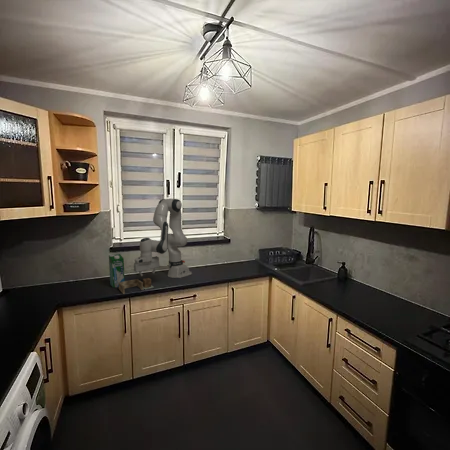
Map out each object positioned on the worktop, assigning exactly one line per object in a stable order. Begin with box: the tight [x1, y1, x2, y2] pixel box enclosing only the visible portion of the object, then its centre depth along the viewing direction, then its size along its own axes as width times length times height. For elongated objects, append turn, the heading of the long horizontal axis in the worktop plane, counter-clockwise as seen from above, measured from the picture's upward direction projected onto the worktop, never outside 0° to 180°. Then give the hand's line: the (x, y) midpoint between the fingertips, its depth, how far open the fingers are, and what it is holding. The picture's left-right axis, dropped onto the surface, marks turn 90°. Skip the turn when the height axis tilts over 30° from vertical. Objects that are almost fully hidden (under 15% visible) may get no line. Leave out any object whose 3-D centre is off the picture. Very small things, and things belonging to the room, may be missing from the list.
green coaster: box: [143, 284, 155, 290], centre depth 206 cm, size 8×8×1 cm
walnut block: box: [142, 277, 152, 288], centre depth 206 cm, size 5×5×6 cm
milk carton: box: [108, 253, 126, 288], centre depth 210 cm, size 9×9×25 cm
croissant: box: [118, 278, 144, 295], centre depth 201 cm, size 15×12×6 cm
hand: (147, 274), depth 206 cm, fingers open, 8 cm apart
